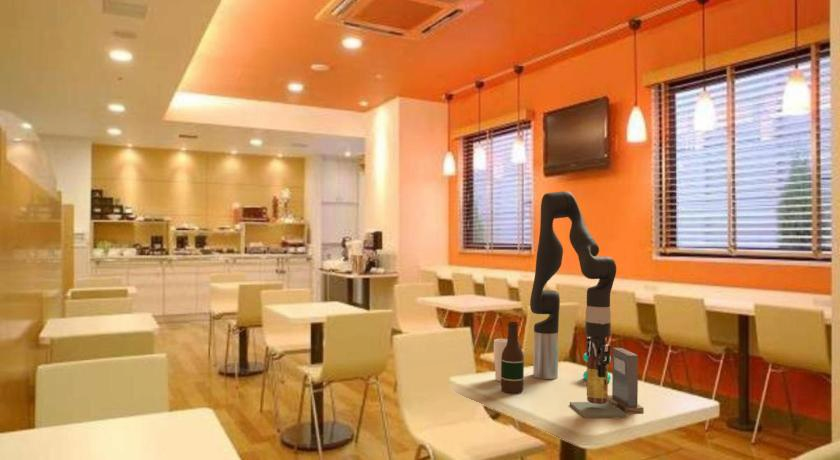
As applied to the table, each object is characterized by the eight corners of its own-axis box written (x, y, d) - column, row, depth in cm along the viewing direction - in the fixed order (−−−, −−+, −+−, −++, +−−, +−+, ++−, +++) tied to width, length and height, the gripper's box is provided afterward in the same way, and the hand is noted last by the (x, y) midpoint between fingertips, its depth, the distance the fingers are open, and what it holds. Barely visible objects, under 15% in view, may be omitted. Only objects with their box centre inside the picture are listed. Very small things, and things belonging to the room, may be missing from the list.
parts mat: (569, 405, 189) (569, 402, 189) (608, 404, 190) (608, 401, 190) (584, 417, 176) (584, 414, 176) (626, 417, 177) (626, 414, 177)
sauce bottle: (608, 405, 179) (609, 340, 179) (587, 404, 181) (588, 339, 180) (606, 399, 186) (607, 336, 186) (585, 398, 187) (586, 335, 187)
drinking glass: (512, 382, 217) (513, 342, 217) (494, 382, 217) (494, 341, 217) (510, 378, 224) (510, 338, 224) (492, 377, 224) (492, 338, 224)
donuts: (609, 352, 226) (612, 357, 216) (609, 378, 226) (611, 384, 216) (582, 350, 228) (583, 355, 219) (582, 376, 228) (583, 382, 219)
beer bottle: (509, 386, 211) (510, 319, 211) (528, 391, 205) (528, 322, 205) (496, 390, 205) (497, 322, 205) (514, 395, 200) (515, 324, 200)
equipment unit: (606, 399, 196) (607, 347, 196) (623, 399, 196) (624, 347, 196) (624, 412, 182) (625, 356, 182) (643, 412, 182) (644, 356, 182)
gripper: (578, 317, 190) (577, 369, 190) (595, 324, 176) (594, 380, 176) (600, 317, 191) (600, 368, 191) (619, 324, 176) (618, 380, 176)
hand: (597, 374), depth 183 cm, fingers closed on sauce bottle, 6 cm apart
